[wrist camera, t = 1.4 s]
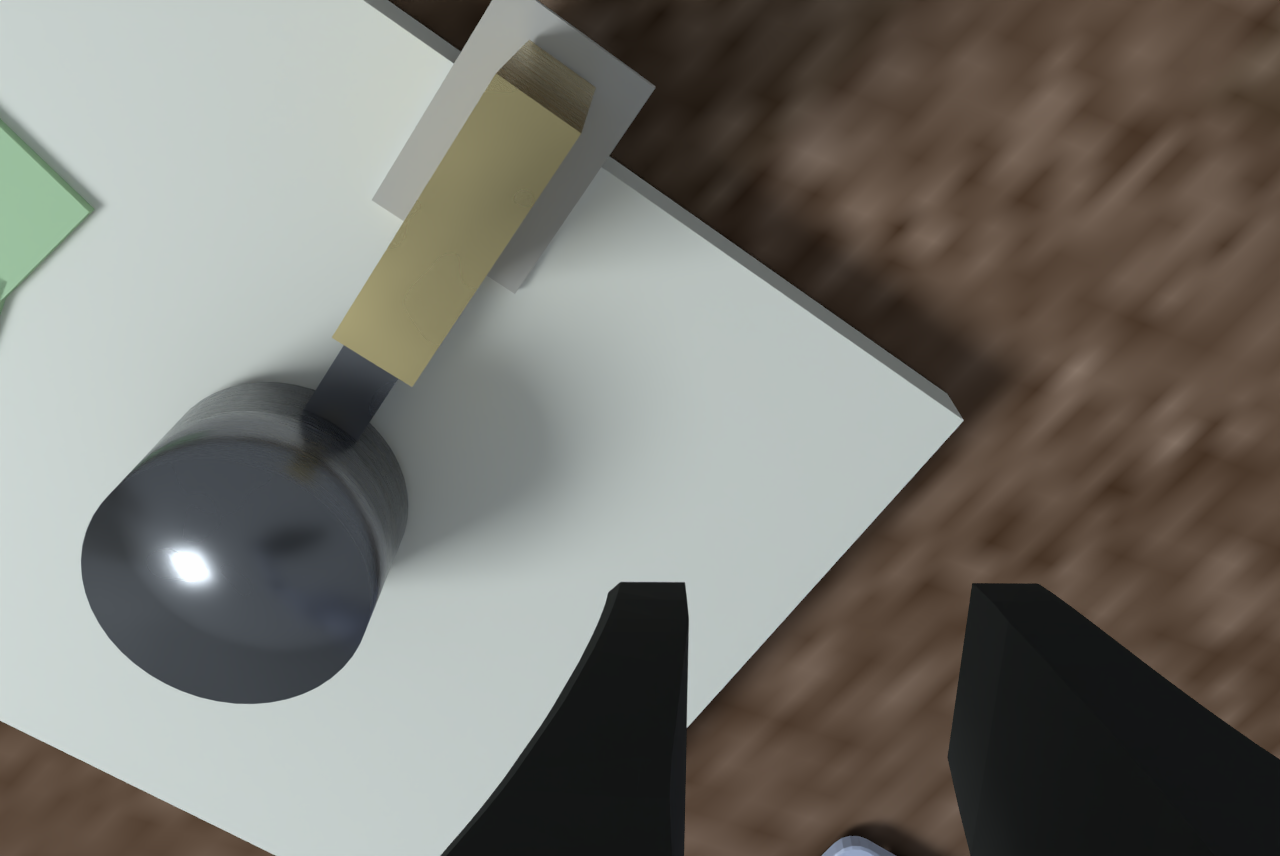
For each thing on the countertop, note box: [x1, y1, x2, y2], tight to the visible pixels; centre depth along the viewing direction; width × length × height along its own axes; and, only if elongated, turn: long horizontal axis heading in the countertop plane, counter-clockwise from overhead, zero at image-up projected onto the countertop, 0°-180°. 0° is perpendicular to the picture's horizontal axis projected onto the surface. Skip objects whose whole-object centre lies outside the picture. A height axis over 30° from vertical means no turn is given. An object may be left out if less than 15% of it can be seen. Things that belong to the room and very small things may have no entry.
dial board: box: [0, 0, 964, 856], centre depth 20 cm, size 19×18×1 cm
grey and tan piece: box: [81, 40, 596, 704], centre depth 17 cm, size 11×4×4 cm, turn 145°
